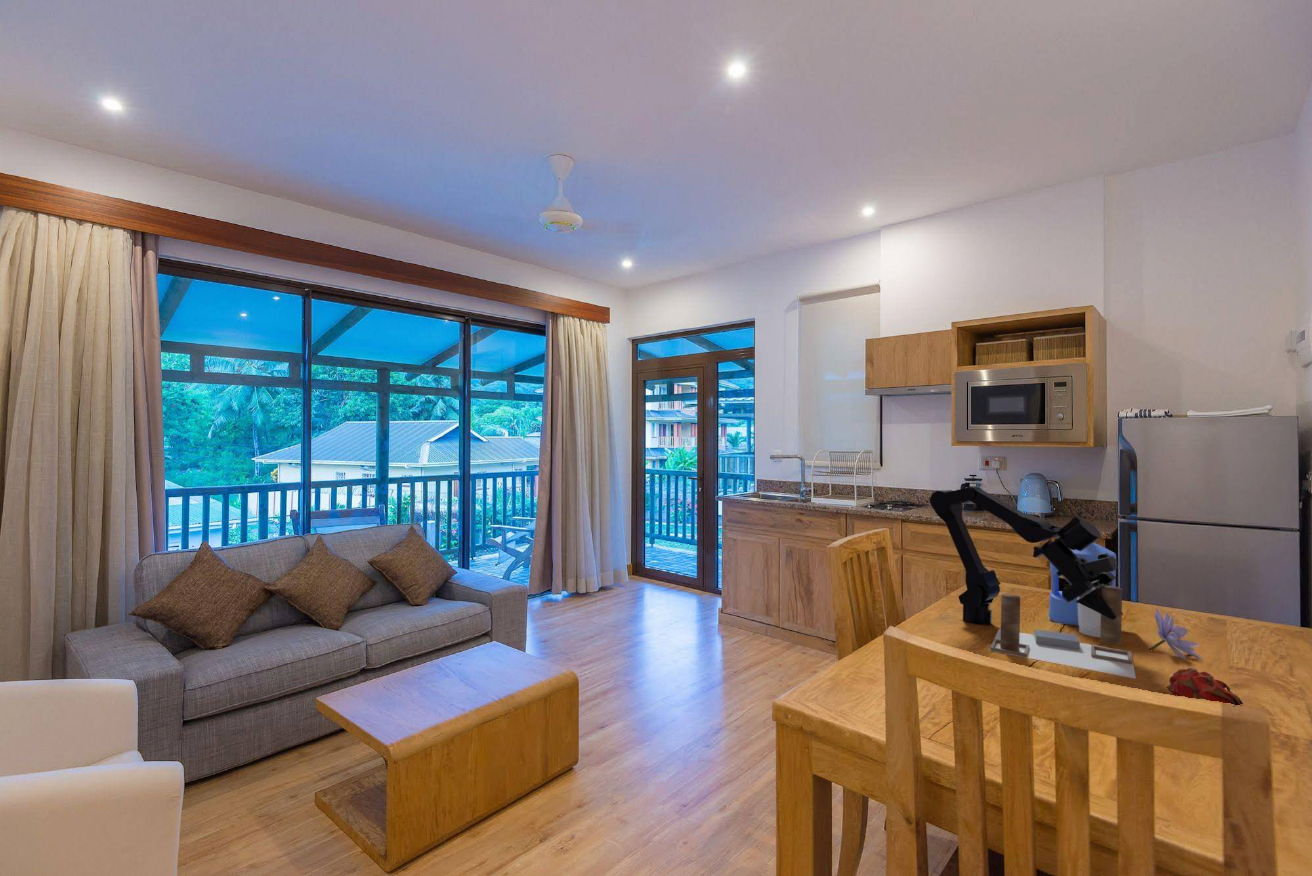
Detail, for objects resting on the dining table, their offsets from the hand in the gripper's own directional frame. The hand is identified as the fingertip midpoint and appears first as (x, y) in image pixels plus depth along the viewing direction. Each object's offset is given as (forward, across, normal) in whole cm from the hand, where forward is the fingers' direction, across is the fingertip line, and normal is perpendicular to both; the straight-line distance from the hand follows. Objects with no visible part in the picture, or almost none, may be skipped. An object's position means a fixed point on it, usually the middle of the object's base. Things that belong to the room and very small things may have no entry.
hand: (1118, 617), depth 143 cm
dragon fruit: (+21, -17, -6) cm, 27 cm away
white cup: (+1, +16, +15) cm, 22 cm away
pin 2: (+4, 0, +5) cm, 6 cm away
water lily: (+13, +16, +3) cm, 21 cm away
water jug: (-4, +28, +20) cm, 34 cm away
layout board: (+1, -6, +14) cm, 16 cm away
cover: (-2, -1, +16) cm, 16 cm away
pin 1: (-5, -15, +19) cm, 25 cm away
